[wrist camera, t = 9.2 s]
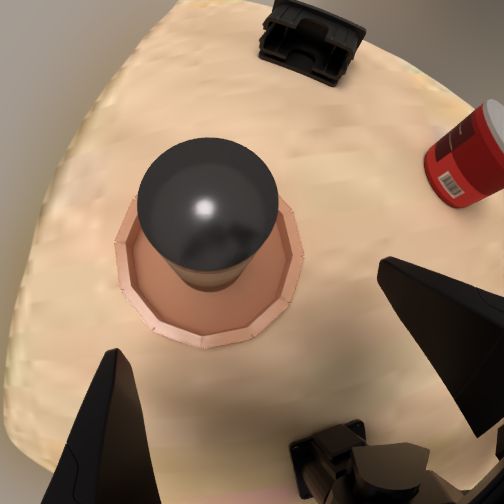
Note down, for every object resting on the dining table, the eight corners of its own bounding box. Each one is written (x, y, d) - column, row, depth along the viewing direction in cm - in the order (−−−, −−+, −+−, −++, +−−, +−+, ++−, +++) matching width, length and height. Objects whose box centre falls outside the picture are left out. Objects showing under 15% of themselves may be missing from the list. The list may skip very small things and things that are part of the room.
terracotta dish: (307, 321, 22) (319, 322, 19) (142, 354, 20) (133, 360, 17) (271, 168, 24) (277, 153, 21) (119, 194, 22) (110, 181, 19)
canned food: (473, 216, 27) (542, 183, 16) (427, 201, 26) (503, 155, 15) (463, 159, 28) (520, 119, 18) (417, 139, 27) (476, 85, 17)
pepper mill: (252, 284, 21) (293, 254, 10) (180, 298, 20) (146, 281, 10) (237, 215, 22) (261, 130, 11) (168, 228, 21) (133, 150, 10)
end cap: (348, 59, 29) (369, 21, 22) (338, 91, 27) (362, 48, 21) (273, 29, 28) (284, -12, 22) (252, 56, 27) (262, 9, 20)
